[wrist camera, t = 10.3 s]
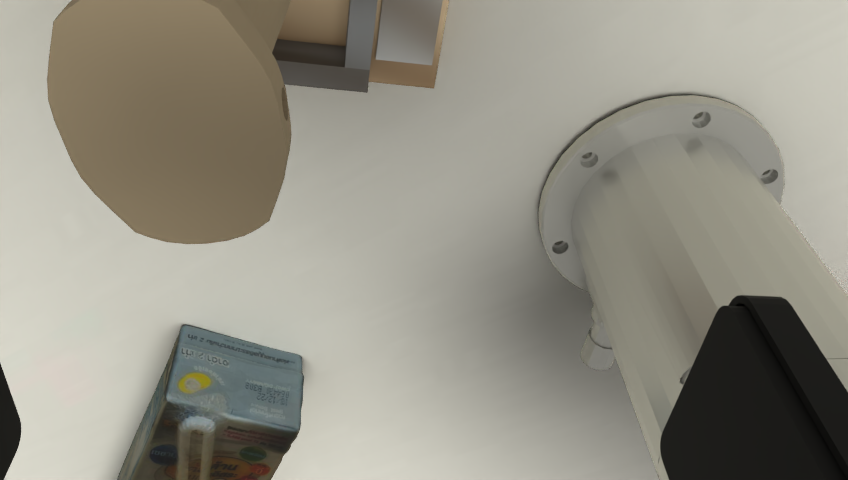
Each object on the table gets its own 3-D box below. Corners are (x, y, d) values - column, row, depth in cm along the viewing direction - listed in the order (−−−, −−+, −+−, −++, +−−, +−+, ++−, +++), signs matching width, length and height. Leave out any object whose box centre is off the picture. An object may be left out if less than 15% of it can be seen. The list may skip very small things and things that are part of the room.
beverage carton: (312, 353, 46) (307, 443, 41) (218, 516, 56) (204, 605, 51) (182, 316, 43) (158, 408, 38) (108, 495, 53) (82, 586, 48)
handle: (207, 12, 30) (110, 251, 19) (163, -166, 26) (2, -2, 15) (327, 2, 30) (305, 235, 19) (301, -177, 26) (251, -22, 15)
